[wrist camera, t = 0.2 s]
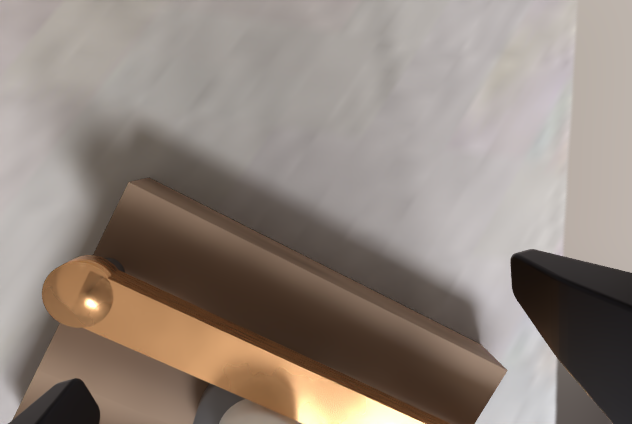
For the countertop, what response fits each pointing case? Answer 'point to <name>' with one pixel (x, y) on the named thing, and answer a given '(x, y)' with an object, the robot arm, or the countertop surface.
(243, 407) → the plug
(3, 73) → the countertop surface
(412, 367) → the socket block
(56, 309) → the orange wooden strip
